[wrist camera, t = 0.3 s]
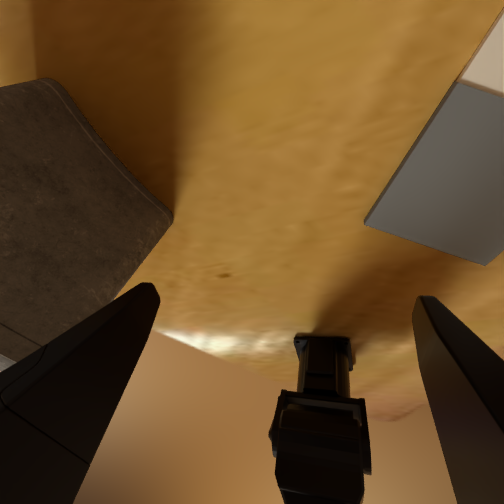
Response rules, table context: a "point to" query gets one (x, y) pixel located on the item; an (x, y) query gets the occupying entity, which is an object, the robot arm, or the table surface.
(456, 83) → the mat
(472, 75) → the tile
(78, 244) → the flask
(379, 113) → the table surface
